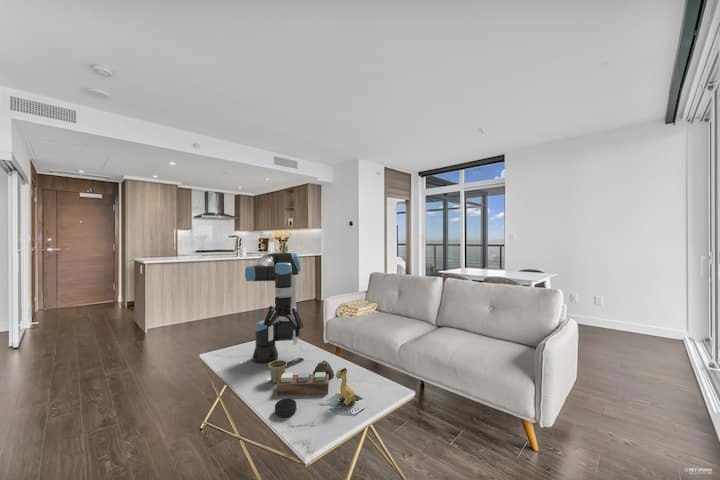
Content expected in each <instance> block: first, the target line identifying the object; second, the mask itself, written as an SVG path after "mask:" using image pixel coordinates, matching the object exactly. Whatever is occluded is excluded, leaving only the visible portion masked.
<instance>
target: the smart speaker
mask: <svg viewBox="0 0 720 480" xmlns="http://www.w3.org/2000/svg"><path fill="white" fill-rule="evenodd" d="M296 411H297V401H296V400H294V399H292V398H283V399H280V400H277V402H276V403H275V404H274V414H275V415H276V416H277V417H279V418H288V417H291V416H293V415H294V414H295V413H296Z"/></svg>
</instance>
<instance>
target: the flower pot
mask: <svg viewBox="0 0 720 480" xmlns="http://www.w3.org/2000/svg"><path fill="white" fill-rule="evenodd" d="M267 364H268V368H269V372H270V378H271V379H270V380H271V382H272V383H274V384H277V383H278V381H279V378H280V376H281V375H282V374H283V373H286V368H287V365H288V362H287V361H286V360H283V359H282V360H281V359H277V360H275V361H272V362H269V363H267Z"/></svg>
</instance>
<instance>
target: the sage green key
mask: <svg viewBox="0 0 720 480" xmlns="http://www.w3.org/2000/svg"><path fill="white" fill-rule="evenodd" d="M325 378H326V372H315V381H325Z"/></svg>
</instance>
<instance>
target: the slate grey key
mask: <svg viewBox="0 0 720 480" xmlns="http://www.w3.org/2000/svg"><path fill="white" fill-rule="evenodd" d="M309 374H310V372H298V375H299V376H298V382H308V381H309Z"/></svg>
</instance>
